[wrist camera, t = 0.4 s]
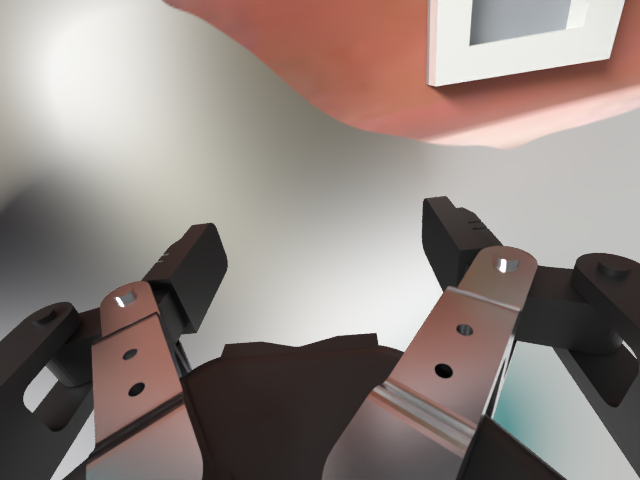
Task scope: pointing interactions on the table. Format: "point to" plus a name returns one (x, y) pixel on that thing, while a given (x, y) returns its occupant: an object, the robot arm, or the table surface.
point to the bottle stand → (515, 36)
